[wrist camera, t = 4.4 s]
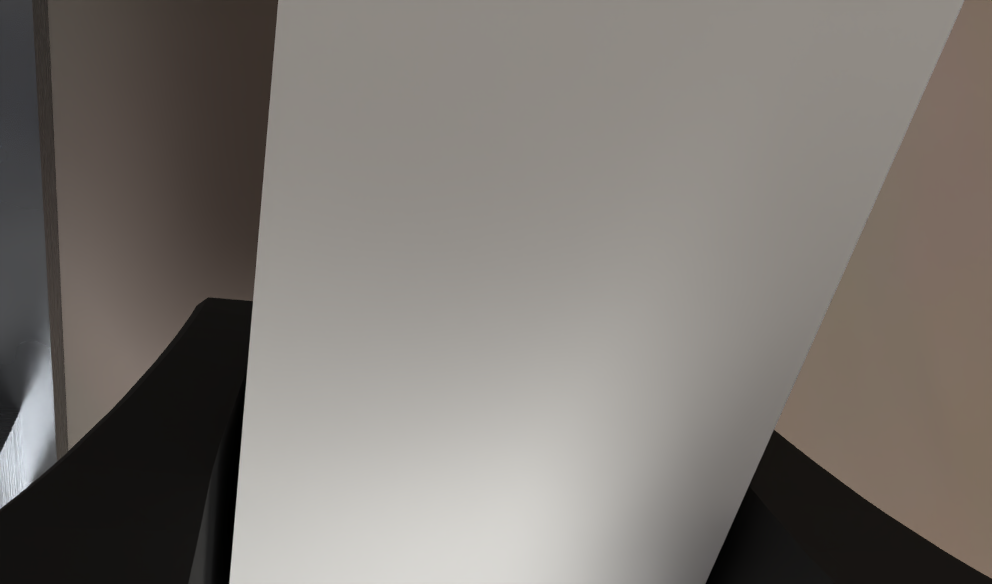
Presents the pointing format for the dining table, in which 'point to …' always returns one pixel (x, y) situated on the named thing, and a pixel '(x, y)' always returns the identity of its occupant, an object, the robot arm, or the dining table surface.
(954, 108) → the dining table surface
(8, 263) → the cup brackets
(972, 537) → the dining table surface
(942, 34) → the rail
